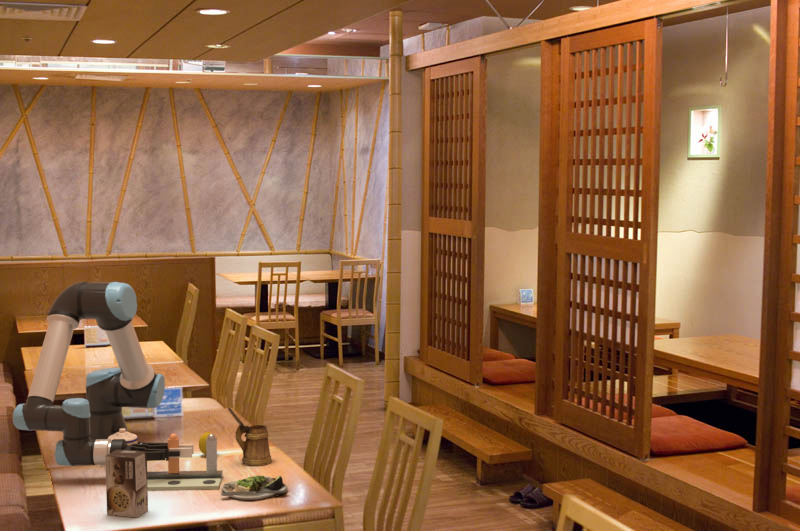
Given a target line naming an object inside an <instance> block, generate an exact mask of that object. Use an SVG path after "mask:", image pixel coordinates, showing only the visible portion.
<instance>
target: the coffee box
mask: <svg viewBox="0 0 800 531" xmlns="http://www.w3.org/2000/svg"><path fill="white" fill-rule="evenodd" d="M104 466H105V487H106V488H105V490H106V515H107V514H108V515H107V516H115V515H117V516H118V517H128V518H129V517H130V518H138V517H140V516H141V515H143V514H145V513H146V512H148V511H149V498H148V497H149V496H148V488H147V472H148V461H147V452H145V451H132V450H115V451H113V452H112V453H110V454H108V455H106V456H105V465H104Z"/></svg>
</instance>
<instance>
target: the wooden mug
mask: <svg viewBox="0 0 800 531" xmlns="http://www.w3.org/2000/svg"><path fill="white" fill-rule="evenodd" d="M227 410H228V411H229V413H230V414H231V416H232V417H233V419H234V420H235V421H236V422H237V424H238V426H237V427H236V431H235V439H236V440H235V441H236V443H237V444H238V446H239V447H240V448H241V450H242V455H243V456H242V458H241V459H242V460H241V462H242V464H244V465H247V466H250V467H251V466H252V467H260V466H265V465H266V466H267V465H269V464H271V463H272V460H273V459H272V456H271V451H270V445H269V431H268V430H267V426H266V425H263V424H254V425H250V426H249V425H247V424H246V425H245V424H244V423H243V421H242V419H241V418H239V417H238V415H237V414H236V413H235V412H234V411H233V409H232V408H230V407H228V408H227ZM243 434H244V438H245V440H243V439H242V435H243Z"/></svg>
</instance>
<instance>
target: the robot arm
mask: <svg viewBox="0 0 800 531" xmlns="http://www.w3.org/2000/svg"><path fill="white" fill-rule="evenodd" d="M137 301H138V300H137V294H136V292H135V290H134V289H133V287H132V286H131V285H130V284H128V283H126V282H119V281H113V282H112V281H111V282H110V281H78V282H74V283H72V284H70V285H69V286H67V287H65V288H64V289H63V290H62V291H61V292H60V293H59V294H58V295H57V296H56V298H55V299H54V301H53V302H52V303H51V306H50V308H49V309H48V313H47V317H46V322H47V323H48V324H47V325H48V326H47V329H46V333H45V336H44V340H43V343H42V346H41V350H40V353H39V356H38V360H37V364H36V367H35V371H34V373H33V377H32V381H31V385H30V387H29V391H28V395H27V398H26V401H25V403H19V404H18V405H16V406H15V408H14V410H13V413H12V423H13V426H14V427H15V428H16V429H18V430H21V431H30V432H32V431H37V432H38V431H41V432H42V431H43V432H46V431H47V432H60V433H61V432H62V435H63V436H62V439H59V440H58V441H56V444H55V451H54V459H55V462H56V464H57V465H59V466H66V467H78V466H79V467H83V466H87V467H88V466H99V468H103V467H104V466H105V456H106V455H108V454H110V453H112V452H113V451H115V450H132V451H145V452H147V462H151V461H152V462H153V461H154V462H155V461H156V462H157V461H165V462H168V461H169V458H179V459H182V458H184V459H185V458H193V455H194V454H195V453H194V452H195V450H194V444H190V443H189V444H179V448H169V450H168V442H153V441H152V442H147V441H145V442H144V441H137V443H136V444H132V445H129V446H128V445H127V444H126V440H125V439H113V440H112V441H111V440H110V439H108V437H109V436H111V435H114V434H115V433H117V432H119V429H121V428H125V429H126V431H127V432H129V431H128V429H129V428H128V426H127V422H126V421H125V418H124V415H123V409H122V408H132V409H134V408H135V409H155V408H158V407H159V406H160V405H161V403H162V401H163V398H164V393H165V387H166V380H165V376H164V374H162V373H156V372H155V370H154V368H153V366H152V365H150V364H149V363H147V360H146V358H145V355H144V352H143V350H142V346H141V344H140V341H139V339H138V334H137V332H136V330H135V326H134V324H133V320H134V318H135V315H136V314H137V310H138V303H137ZM81 320H95V322H96V324H97V326H98V327H99V329H100V330H102V331H105V333H106V336H107V339H108V341H109V344H110V346H111V348H112V352H113V354H114V357H115V359H116V362H117V365H118V367H107V368H102V369H97V370H94V371H90V372H89V373H87V375H86V377H85V385H84V386H85V398H83V397H73V398H67V399H65V400H64V401H62V405H59V404H58V405H57V404H54V401H55V397H56V395H57V390H58V387H59V385H60V380H61V377H62V373H63V369H64V366H65V361H66V359H67V354H68V352H69V348H70V345H71V341H72V337H73V333H74V330H77V329H78V327H79V325H80V322H81Z"/></svg>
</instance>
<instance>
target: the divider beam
mask: <svg viewBox="0 0 800 531" xmlns="http://www.w3.org/2000/svg"><path fill="white" fill-rule="evenodd" d="M205 456H206V457H205V459H206V467H205V468H206V470H179V472H178V473H168V470H165V471H164V470H161V471H160V470H159V471H147V480H156V479H212V478H221V481H222V480H223V477H224V476H223V473H224V472H223V470H220V469H219V470H218V438H217V437H216V435H215V434H213V433H212V434H209V435H208V437H207V440H206V455H205Z"/></svg>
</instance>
